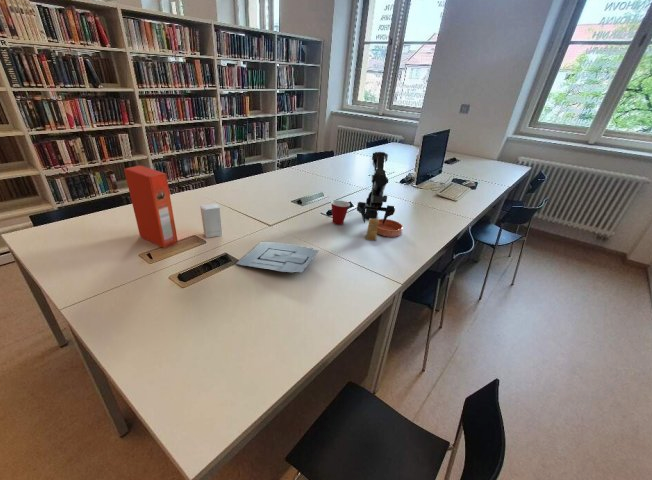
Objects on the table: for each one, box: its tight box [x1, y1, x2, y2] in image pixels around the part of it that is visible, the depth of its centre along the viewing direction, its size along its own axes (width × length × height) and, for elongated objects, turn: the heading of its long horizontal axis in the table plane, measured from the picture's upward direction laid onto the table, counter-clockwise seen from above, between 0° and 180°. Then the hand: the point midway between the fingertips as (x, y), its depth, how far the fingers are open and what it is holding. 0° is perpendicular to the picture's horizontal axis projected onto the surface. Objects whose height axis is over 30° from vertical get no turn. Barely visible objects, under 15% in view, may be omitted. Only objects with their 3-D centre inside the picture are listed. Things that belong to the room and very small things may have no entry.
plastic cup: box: [330, 199, 351, 226], centre depth 177 cm, size 11×11×12 cm
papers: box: [235, 240, 320, 274], centre depth 140 cm, size 24×30×4 cm
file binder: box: [123, 165, 179, 249], centre depth 142 cm, size 8×17×32 cm, turn 56°
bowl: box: [377, 218, 403, 238], centre depth 174 cm, size 15×15×4 cm
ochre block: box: [365, 218, 380, 241], centre depth 164 cm, size 4×4×10 cm
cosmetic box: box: [199, 203, 223, 239], centre depth 154 cm, size 8×6×15 cm
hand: (373, 224), depth 162 cm, fingers open, 9 cm apart
